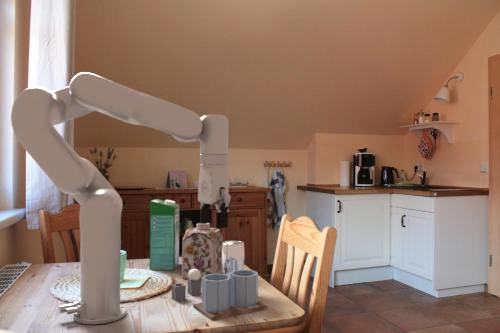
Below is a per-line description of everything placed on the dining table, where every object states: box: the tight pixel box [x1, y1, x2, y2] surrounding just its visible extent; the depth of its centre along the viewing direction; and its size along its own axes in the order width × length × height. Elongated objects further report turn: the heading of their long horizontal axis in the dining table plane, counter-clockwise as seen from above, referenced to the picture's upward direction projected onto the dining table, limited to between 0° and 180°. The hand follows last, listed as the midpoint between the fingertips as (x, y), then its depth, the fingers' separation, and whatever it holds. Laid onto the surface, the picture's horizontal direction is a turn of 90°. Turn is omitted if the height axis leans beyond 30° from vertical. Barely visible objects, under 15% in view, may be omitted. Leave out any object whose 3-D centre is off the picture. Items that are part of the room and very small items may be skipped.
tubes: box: [201, 269, 259, 313], centre depth 113 cm, size 16×7×8 cm, turn 122°
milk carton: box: [149, 198, 180, 271], centre depth 157 cm, size 9×9×25 cm
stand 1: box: [171, 282, 187, 302], centre depth 120 cm, size 3×3×4 cm
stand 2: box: [186, 279, 202, 296], centre depth 125 cm, size 3×3×4 cm
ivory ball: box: [188, 269, 200, 281], centre depth 125 cm, size 4×4×4 cm
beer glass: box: [221, 240, 245, 276], centre depth 127 cm, size 7×7×15 cm
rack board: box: [192, 300, 268, 321], centre depth 113 cm, size 17×11×1 cm, turn 122°
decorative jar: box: [181, 222, 224, 281], centre depth 146 cm, size 12×12×18 cm
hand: (213, 225), depth 113 cm, fingers open, 9 cm apart
